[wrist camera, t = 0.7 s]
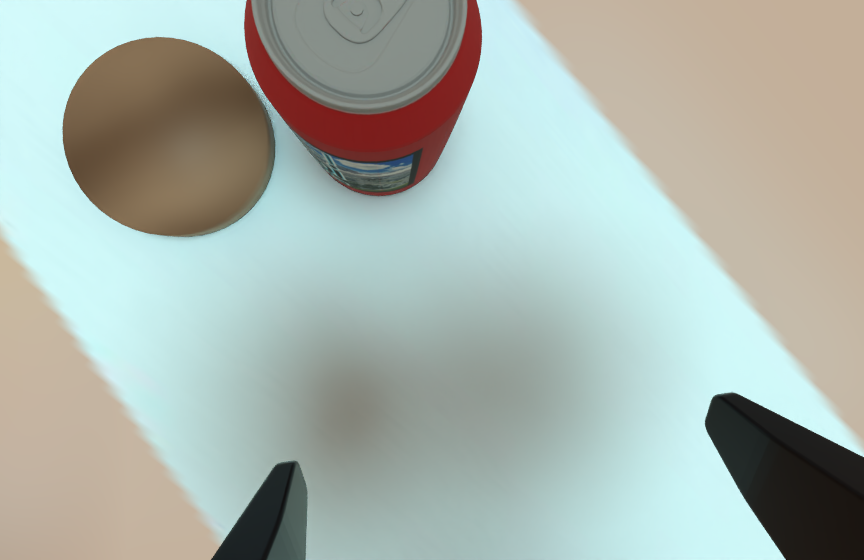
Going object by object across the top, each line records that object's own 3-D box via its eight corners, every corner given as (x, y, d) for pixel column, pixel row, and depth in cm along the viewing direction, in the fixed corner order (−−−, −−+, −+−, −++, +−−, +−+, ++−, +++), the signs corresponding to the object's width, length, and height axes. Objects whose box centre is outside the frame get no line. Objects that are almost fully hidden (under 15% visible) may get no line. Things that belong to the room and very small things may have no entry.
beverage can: (283, 136, 23) (159, 3, 11) (371, 35, 23) (346, -205, 11) (385, 225, 23) (375, 193, 11) (471, 127, 24) (549, -6, 12)
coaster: (310, 173, 23) (304, 168, 21) (158, 271, 23) (141, 272, 21) (205, 16, 22) (191, -1, 21) (45, 115, 22) (20, 105, 20)
